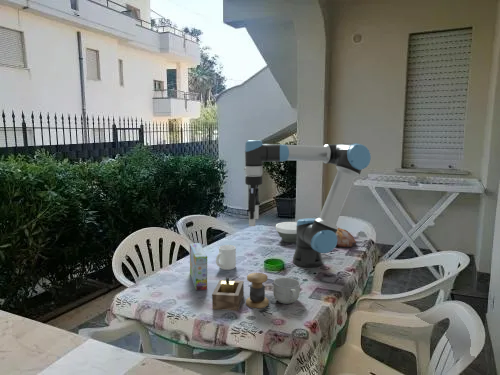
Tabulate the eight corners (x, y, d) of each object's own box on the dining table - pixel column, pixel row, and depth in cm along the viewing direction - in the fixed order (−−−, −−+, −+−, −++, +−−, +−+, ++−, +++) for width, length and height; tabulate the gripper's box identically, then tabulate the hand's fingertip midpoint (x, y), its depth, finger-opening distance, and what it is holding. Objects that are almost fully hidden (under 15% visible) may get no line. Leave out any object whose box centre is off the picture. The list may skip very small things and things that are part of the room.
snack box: (208, 289, 157) (207, 256, 155) (195, 291, 155) (194, 257, 153) (201, 272, 177) (200, 242, 175) (189, 273, 176) (188, 243, 173)
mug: (222, 273, 175) (222, 253, 173) (210, 269, 180) (210, 249, 179) (239, 266, 184) (239, 247, 182) (227, 263, 189) (227, 243, 188)
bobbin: (269, 298, 148) (269, 272, 146) (267, 309, 139) (267, 281, 137) (247, 297, 149) (247, 271, 147) (244, 307, 140) (244, 280, 139)
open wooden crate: (243, 294, 152) (243, 280, 151) (238, 310, 138) (238, 295, 137) (220, 293, 153) (219, 279, 152) (212, 309, 139) (212, 294, 138)
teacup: (271, 295, 151) (271, 276, 150) (297, 294, 152) (297, 275, 151) (276, 311, 138) (276, 291, 136) (305, 310, 138) (305, 290, 137)
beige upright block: (234, 297, 146) (234, 276, 145) (233, 301, 144) (233, 279, 142) (222, 297, 147) (222, 276, 146) (220, 300, 144) (220, 278, 143)
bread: (328, 239, 233) (328, 224, 233) (359, 244, 224) (359, 228, 223) (319, 245, 219) (319, 228, 219) (352, 250, 209) (352, 232, 209)
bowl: (309, 245, 219) (309, 229, 218) (276, 245, 219) (276, 229, 218) (304, 236, 238) (304, 221, 237) (274, 236, 239) (274, 221, 237)
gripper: (249, 172, 174) (249, 216, 177) (241, 178, 149) (241, 229, 152) (264, 172, 173) (264, 216, 176) (259, 179, 148) (259, 229, 152)
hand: (254, 222), depth 164 cm, fingers open, 13 cm apart
